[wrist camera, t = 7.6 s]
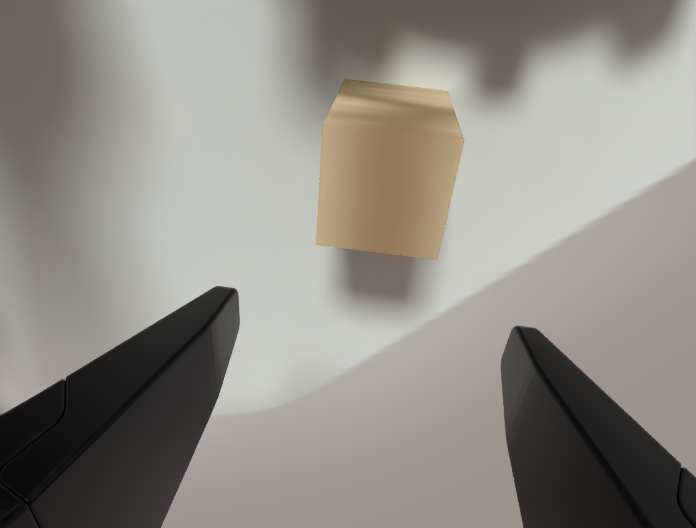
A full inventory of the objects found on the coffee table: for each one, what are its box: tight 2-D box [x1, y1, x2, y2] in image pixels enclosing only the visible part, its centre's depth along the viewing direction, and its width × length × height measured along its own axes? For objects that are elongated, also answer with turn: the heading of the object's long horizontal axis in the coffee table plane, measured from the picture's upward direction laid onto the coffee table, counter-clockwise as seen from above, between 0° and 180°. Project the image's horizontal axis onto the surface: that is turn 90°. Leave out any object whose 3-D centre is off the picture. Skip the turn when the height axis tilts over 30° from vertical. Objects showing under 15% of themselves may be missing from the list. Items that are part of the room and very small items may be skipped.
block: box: [316, 79, 464, 260], centre depth 17 cm, size 4×4×6 cm
